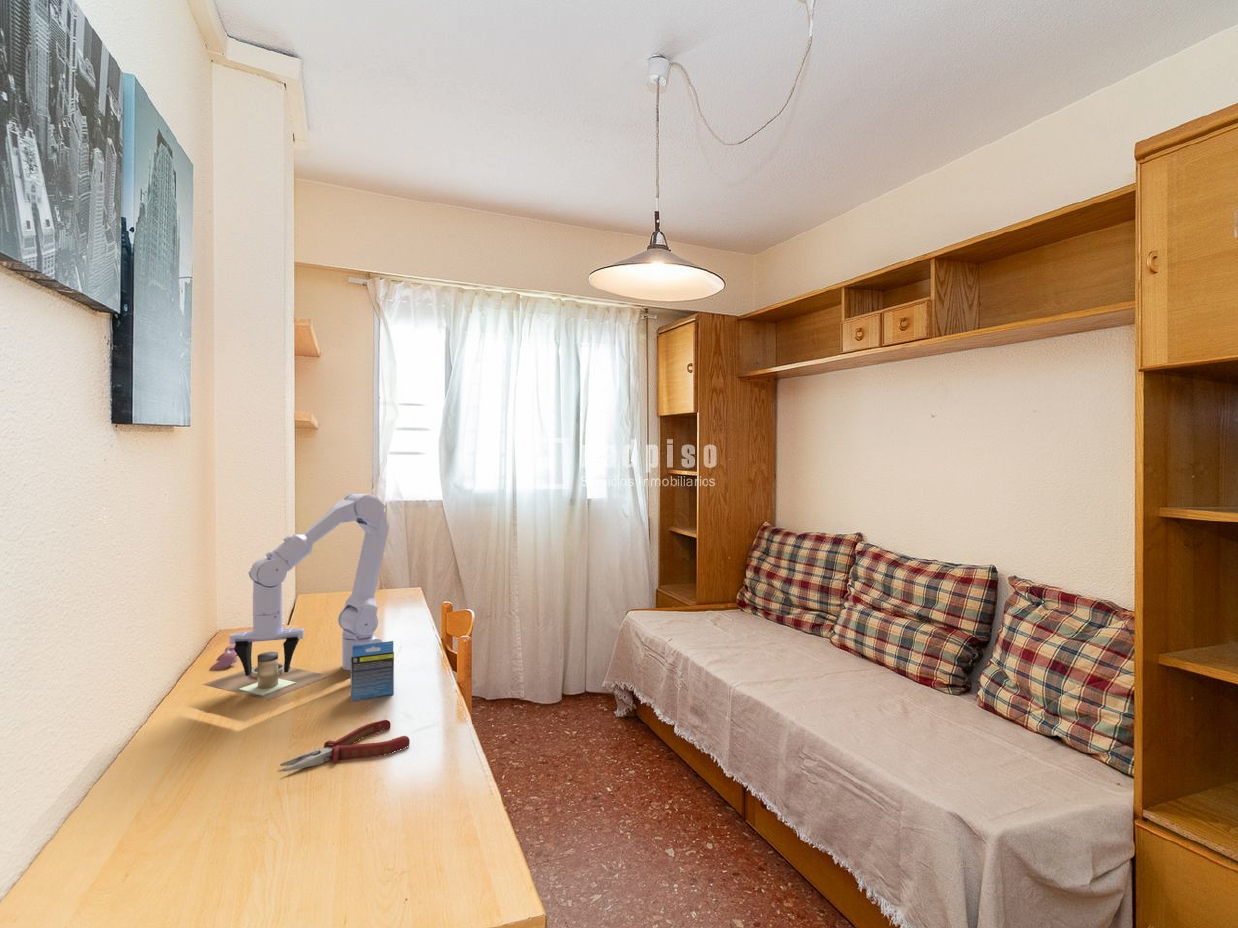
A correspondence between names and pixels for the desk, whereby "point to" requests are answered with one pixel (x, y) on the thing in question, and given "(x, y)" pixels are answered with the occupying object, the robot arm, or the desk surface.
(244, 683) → the walnut board
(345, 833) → the desk surface
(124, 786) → the desk surface
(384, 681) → the label tape box
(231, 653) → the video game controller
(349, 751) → the pliers
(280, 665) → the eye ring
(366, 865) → the desk surface
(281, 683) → the sage pad
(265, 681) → the beech pin
